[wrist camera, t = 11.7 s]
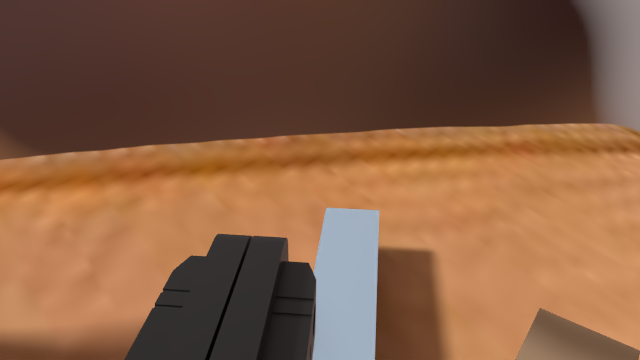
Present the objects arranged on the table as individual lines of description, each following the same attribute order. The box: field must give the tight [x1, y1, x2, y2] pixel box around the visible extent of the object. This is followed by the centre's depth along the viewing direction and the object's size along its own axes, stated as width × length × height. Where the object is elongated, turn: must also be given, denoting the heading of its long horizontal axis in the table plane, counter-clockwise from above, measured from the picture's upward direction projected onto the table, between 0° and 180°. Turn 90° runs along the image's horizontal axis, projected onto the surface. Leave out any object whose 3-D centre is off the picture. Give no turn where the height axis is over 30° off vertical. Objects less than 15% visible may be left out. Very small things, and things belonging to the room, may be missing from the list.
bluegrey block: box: [312, 208, 379, 360], centre depth 38 cm, size 5×5×18 cm
